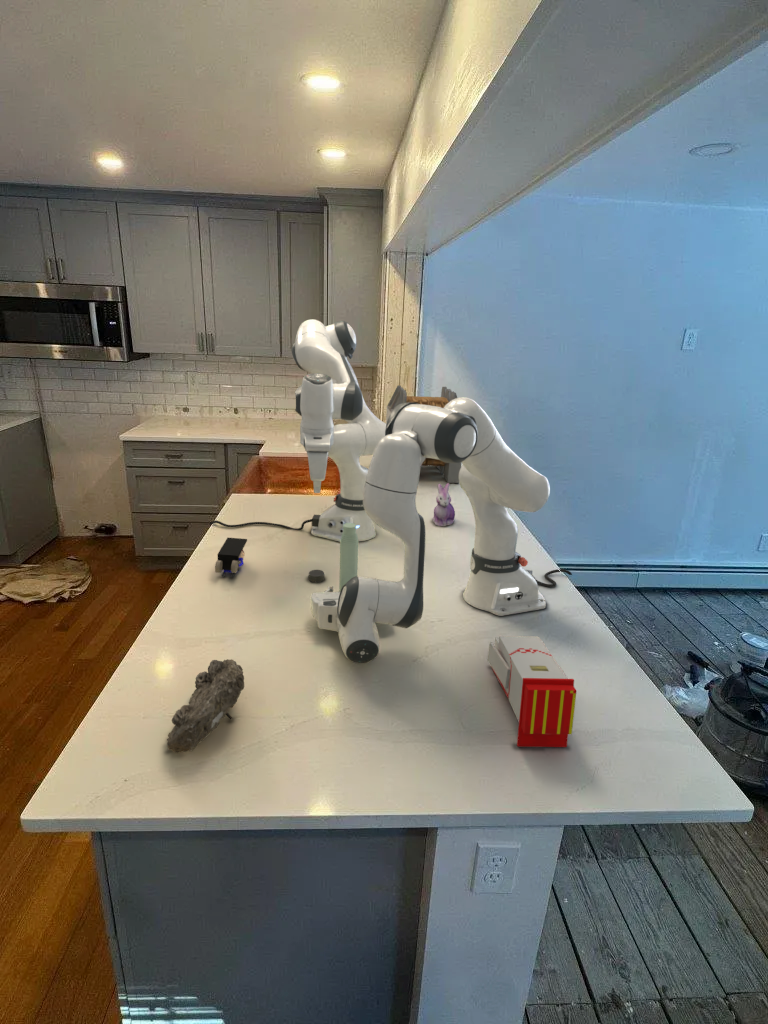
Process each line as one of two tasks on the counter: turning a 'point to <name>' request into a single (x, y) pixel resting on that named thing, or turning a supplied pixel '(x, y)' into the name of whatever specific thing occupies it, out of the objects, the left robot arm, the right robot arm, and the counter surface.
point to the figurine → (443, 507)
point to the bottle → (348, 554)
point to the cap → (316, 576)
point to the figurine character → (230, 556)
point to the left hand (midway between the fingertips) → (316, 486)
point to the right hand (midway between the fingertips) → (348, 588)
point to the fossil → (206, 705)
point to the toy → (534, 690)
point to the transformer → (446, 395)
